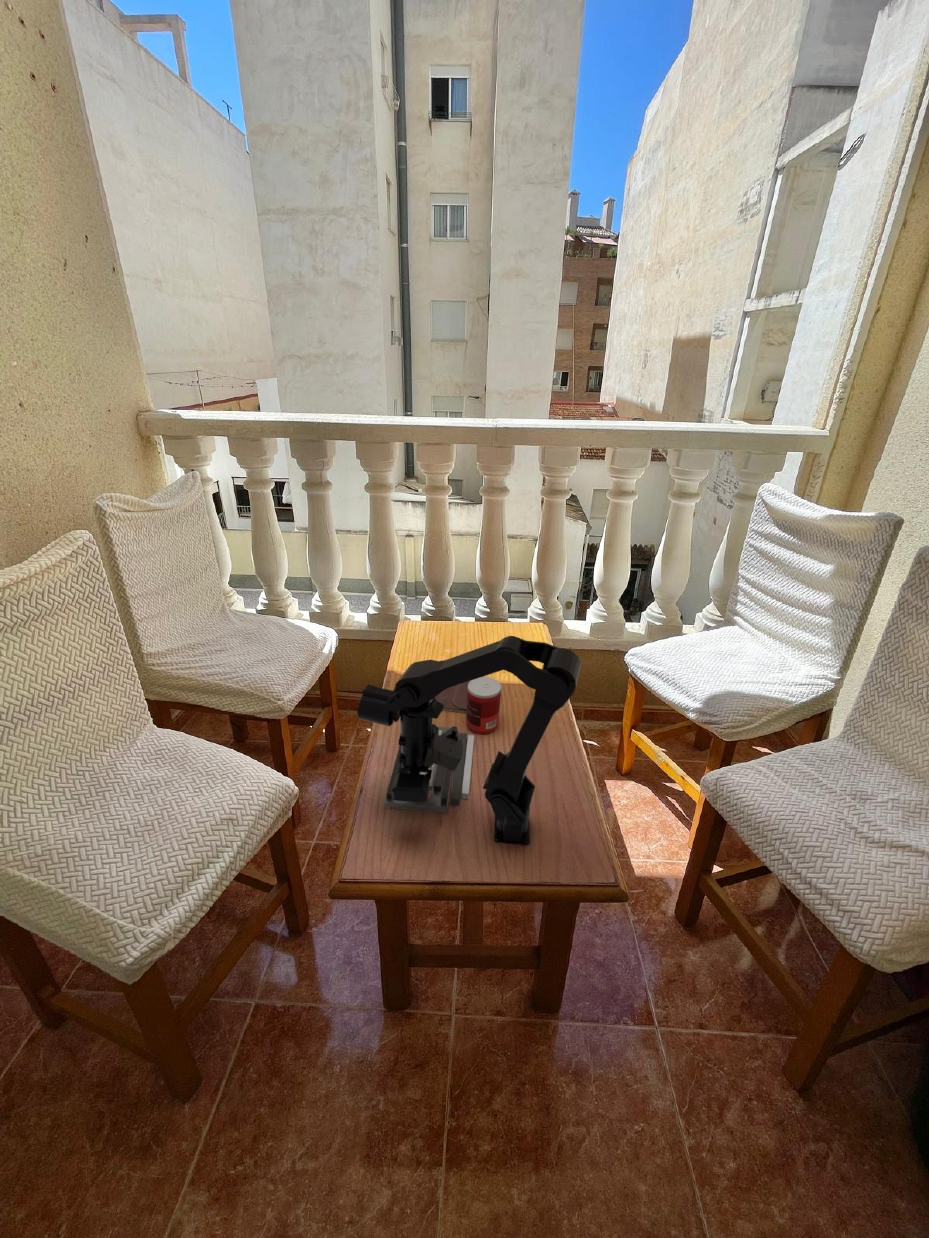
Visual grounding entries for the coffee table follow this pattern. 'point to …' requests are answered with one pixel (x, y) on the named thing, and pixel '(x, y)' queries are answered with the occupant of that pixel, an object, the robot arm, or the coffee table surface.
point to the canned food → (483, 705)
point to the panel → (437, 791)
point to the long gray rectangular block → (459, 771)
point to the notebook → (454, 698)
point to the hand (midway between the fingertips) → (417, 793)
